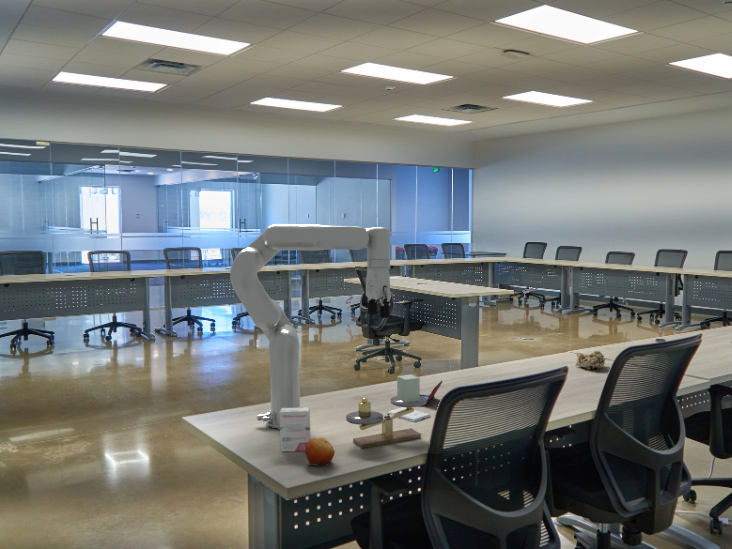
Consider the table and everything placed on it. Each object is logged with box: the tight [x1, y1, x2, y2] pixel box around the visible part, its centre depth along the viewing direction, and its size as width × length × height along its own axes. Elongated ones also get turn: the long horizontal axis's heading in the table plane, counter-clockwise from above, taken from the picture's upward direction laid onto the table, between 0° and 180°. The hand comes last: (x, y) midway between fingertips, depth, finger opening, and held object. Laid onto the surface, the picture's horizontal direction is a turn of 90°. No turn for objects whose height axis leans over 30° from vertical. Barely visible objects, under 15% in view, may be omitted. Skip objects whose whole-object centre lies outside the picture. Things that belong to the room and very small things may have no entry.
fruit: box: [304, 437, 336, 468], centre depth 164 cm, size 8×8×8 cm
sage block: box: [396, 373, 421, 403], centre depth 185 cm, size 5×5×7 cm
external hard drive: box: [386, 407, 431, 423], centre depth 207 cm, size 2×8×12 cm
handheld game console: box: [420, 380, 443, 407], centre depth 223 cm, size 12×11×7 cm
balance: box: [345, 395, 427, 449], centre depth 182 cm, size 26×11×14 cm, turn 116°
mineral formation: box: [575, 350, 606, 371], centre depth 273 cm, size 8×13×15 cm
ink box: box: [279, 406, 312, 452], centre depth 176 cm, size 9×5×12 cm, turn 91°
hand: (378, 315), depth 202 cm, fingers open, 9 cm apart
